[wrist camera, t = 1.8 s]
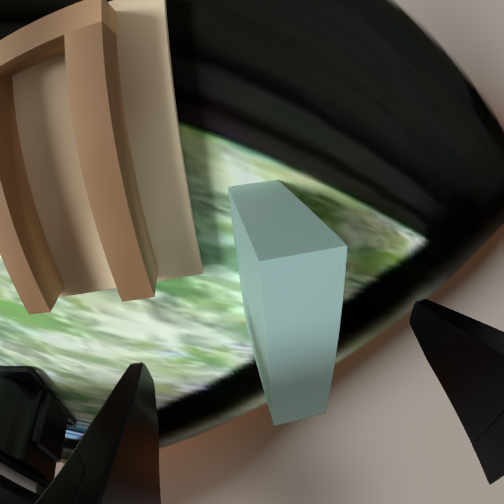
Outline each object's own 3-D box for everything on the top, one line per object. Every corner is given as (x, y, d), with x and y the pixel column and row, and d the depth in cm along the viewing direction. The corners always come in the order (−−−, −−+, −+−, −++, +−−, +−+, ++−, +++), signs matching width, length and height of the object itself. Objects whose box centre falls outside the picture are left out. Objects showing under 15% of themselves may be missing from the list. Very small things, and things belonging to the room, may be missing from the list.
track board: (30, 290, 11) (8, 326, 9) (-24, 74, 6) (-62, 75, 4) (201, 261, 12) (205, 300, 10) (165, -2, 7) (158, -33, 5)
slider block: (246, 323, 15) (273, 425, 9) (227, 186, 11) (258, 261, 6) (284, 316, 15) (325, 412, 10) (277, 179, 12) (347, 245, 6)
